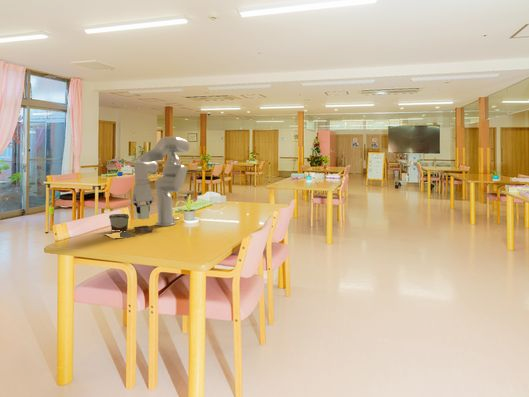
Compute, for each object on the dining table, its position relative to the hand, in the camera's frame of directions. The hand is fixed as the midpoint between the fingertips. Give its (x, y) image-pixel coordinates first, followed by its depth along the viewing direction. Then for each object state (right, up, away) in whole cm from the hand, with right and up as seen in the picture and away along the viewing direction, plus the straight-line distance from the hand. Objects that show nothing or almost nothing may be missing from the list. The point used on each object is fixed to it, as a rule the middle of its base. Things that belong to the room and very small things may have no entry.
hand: (143, 212), depth 236 cm
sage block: (0, -4, +1) cm, 4 cm away
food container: (-15, -12, +6) cm, 20 cm away
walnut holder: (0, -12, +1) cm, 12 cm away
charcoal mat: (-11, -13, -9) cm, 20 cm away
